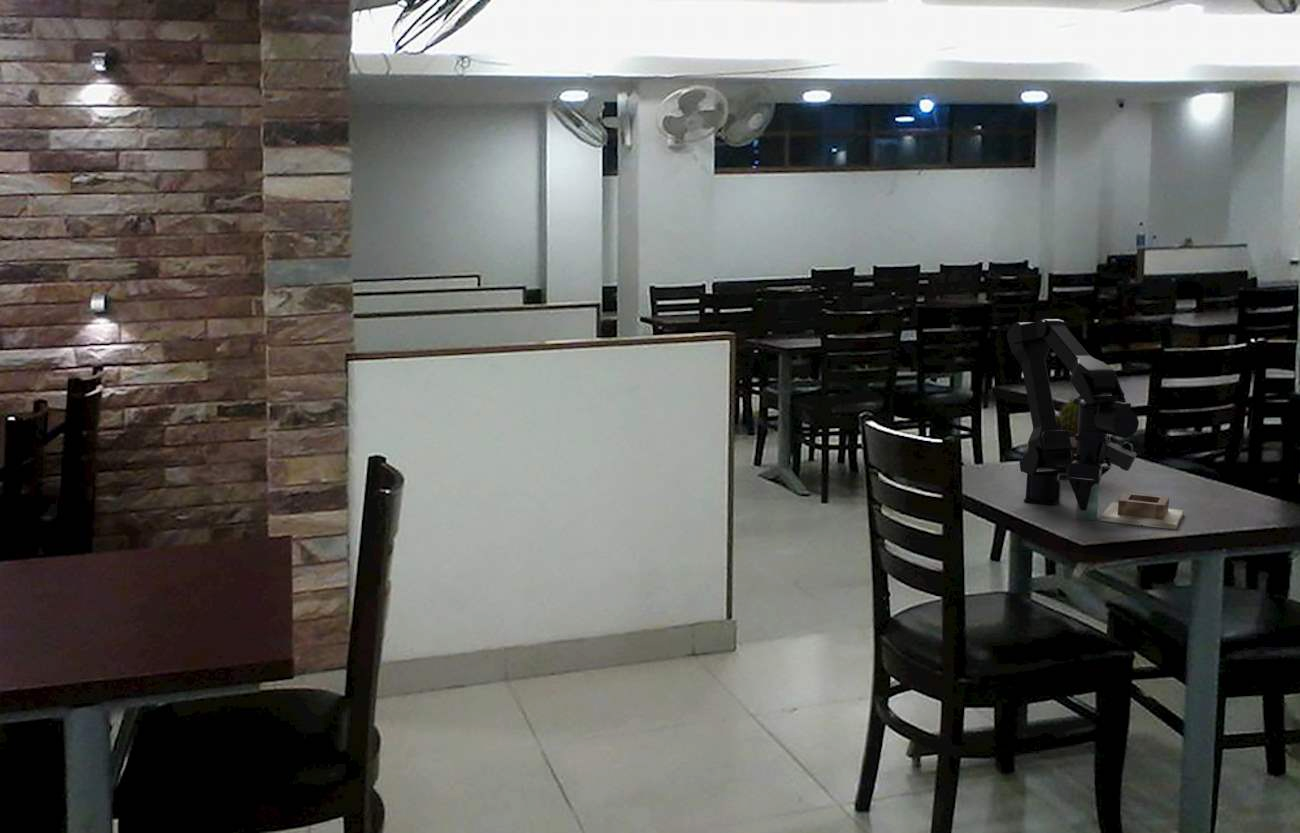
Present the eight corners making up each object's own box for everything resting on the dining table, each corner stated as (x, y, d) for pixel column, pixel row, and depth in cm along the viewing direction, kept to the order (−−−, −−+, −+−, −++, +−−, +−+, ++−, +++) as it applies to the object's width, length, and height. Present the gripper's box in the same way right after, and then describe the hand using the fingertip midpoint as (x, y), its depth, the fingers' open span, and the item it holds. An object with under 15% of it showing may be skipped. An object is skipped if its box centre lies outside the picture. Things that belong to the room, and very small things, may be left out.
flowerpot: (1022, 469, 309) (1027, 386, 306) (1086, 470, 308) (1092, 387, 305) (1037, 481, 295) (1043, 395, 291) (1105, 483, 294) (1111, 396, 291)
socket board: (1101, 520, 258) (1102, 501, 257) (1111, 506, 270) (1113, 488, 270) (1175, 529, 252) (1177, 509, 251) (1183, 515, 264) (1184, 495, 263)
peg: (1074, 518, 259) (1076, 484, 258) (1077, 514, 263) (1080, 481, 262) (1095, 521, 258) (1097, 487, 256) (1098, 517, 261) (1100, 483, 260)
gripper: (1128, 440, 245) (1122, 520, 248) (1141, 426, 262) (1135, 501, 264) (1068, 435, 251) (1062, 513, 253) (1084, 421, 267) (1079, 495, 269)
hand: (1087, 505), depth 260 cm, fingers open, 9 cm apart
